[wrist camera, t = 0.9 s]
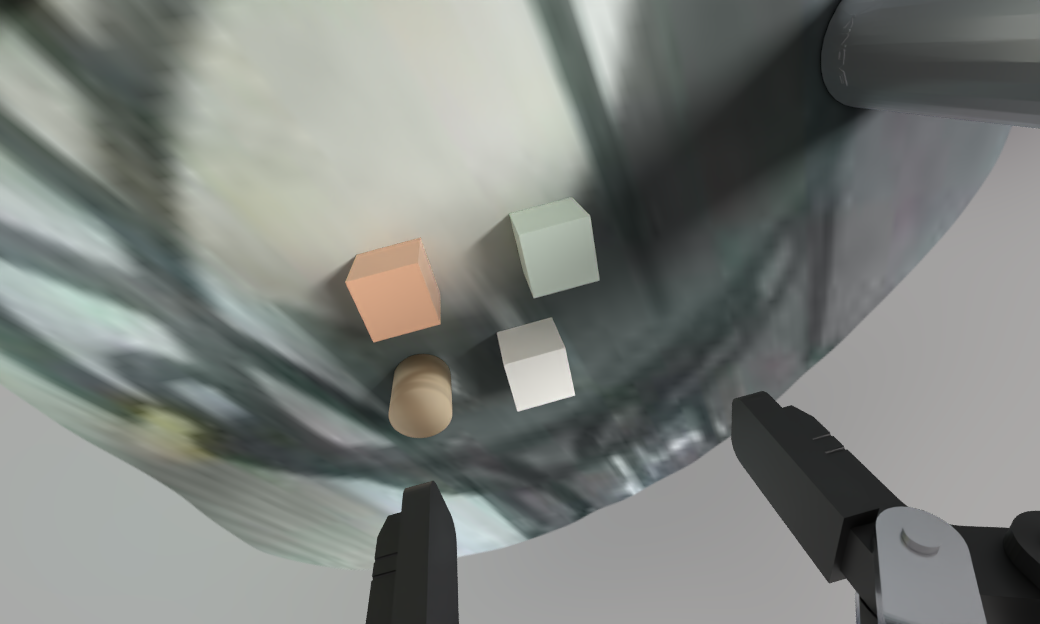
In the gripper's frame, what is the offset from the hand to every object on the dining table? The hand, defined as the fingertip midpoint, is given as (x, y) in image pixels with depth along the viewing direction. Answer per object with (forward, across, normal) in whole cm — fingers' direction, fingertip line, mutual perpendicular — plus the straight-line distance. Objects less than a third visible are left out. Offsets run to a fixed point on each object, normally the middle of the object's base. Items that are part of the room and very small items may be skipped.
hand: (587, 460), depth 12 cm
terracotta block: (+26, +9, +4) cm, 27 cm away
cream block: (+26, 0, +14) cm, 29 cm away
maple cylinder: (+26, +10, +14) cm, 31 cm away
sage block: (+26, -3, +4) cm, 26 cm away
